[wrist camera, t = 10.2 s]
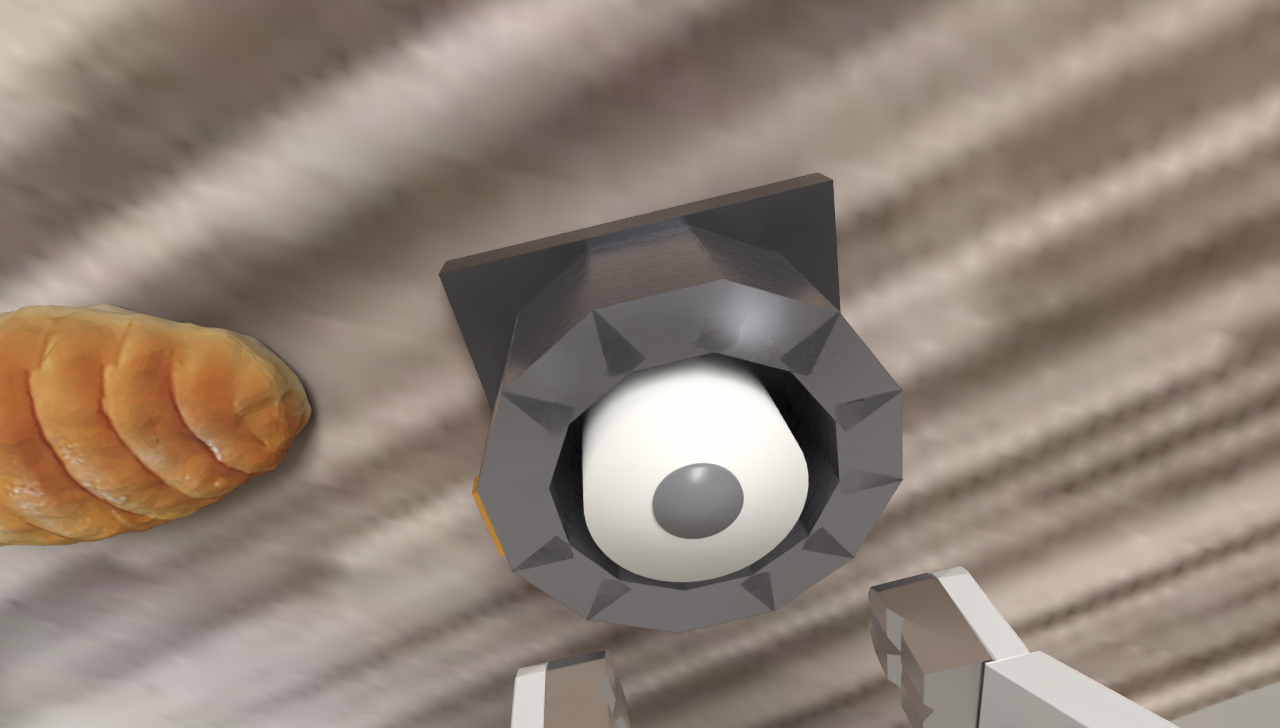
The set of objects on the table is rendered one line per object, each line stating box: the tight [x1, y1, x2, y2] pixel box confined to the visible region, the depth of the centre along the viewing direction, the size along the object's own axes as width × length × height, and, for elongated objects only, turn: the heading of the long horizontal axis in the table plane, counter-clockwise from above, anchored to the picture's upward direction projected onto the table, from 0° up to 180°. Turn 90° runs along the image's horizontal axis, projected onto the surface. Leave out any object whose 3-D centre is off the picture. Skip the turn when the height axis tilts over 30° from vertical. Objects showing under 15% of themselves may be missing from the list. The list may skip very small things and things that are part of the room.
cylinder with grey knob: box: [581, 352, 808, 582], centre depth 15 cm, size 5×5×5 cm
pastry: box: [0, 304, 311, 546], centre depth 15 cm, size 9×7×4 cm
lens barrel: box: [439, 173, 903, 633], centre depth 16 cm, size 10×10×5 cm
